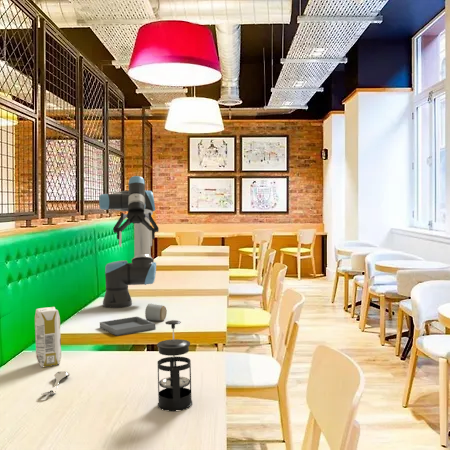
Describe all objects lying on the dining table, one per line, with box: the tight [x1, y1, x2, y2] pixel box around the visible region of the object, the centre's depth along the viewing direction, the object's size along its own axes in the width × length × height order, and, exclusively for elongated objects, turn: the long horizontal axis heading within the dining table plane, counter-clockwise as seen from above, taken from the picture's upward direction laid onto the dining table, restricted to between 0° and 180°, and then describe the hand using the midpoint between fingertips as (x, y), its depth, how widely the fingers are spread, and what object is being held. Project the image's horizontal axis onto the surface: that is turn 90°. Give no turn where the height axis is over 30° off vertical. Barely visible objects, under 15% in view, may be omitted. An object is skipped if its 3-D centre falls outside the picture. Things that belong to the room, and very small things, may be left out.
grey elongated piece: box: [41, 370, 71, 396], centre depth 164 cm, size 20×4×5 cm
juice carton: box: [34, 306, 62, 368], centre depth 188 cm, size 8×9×19 cm
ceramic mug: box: [144, 303, 168, 322], centre depth 253 cm, size 11×8×8 cm
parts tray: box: [99, 316, 157, 337], centre depth 237 cm, size 18×18×2 cm
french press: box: [156, 319, 193, 412], centre depth 148 cm, size 12×9×23 cm
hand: (135, 244), depth 243 cm, fingers open, 13 cm apart
